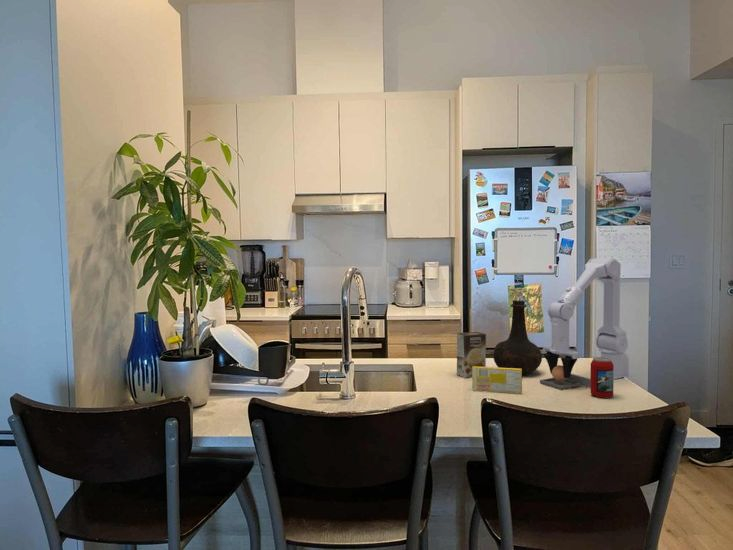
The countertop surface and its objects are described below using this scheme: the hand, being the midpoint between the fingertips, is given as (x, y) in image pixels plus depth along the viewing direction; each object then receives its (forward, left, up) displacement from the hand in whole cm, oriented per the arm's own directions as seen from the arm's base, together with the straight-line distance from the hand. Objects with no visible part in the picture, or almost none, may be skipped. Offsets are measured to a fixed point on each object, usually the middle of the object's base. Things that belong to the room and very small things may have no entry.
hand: (560, 375), depth 181 cm
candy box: (+25, -4, -4) cm, 25 cm away
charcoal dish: (0, 0, -3) cm, 3 cm away
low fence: (-6, 0, -3) cm, 7 cm away
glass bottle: (+1, -21, -4) cm, 21 cm away
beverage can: (-1, +16, -3) cm, 16 cm away
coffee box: (+19, -26, -3) cm, 32 cm away
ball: (0, 0, +1) cm, 1 cm away
